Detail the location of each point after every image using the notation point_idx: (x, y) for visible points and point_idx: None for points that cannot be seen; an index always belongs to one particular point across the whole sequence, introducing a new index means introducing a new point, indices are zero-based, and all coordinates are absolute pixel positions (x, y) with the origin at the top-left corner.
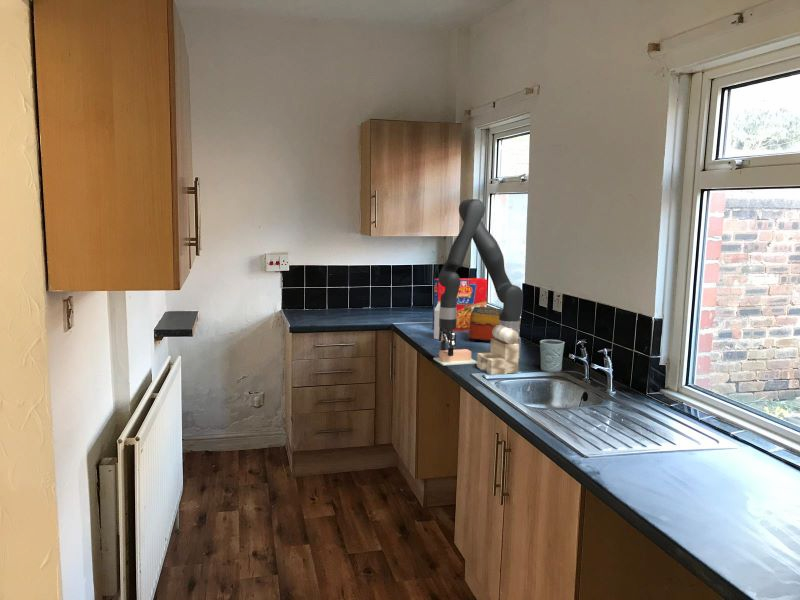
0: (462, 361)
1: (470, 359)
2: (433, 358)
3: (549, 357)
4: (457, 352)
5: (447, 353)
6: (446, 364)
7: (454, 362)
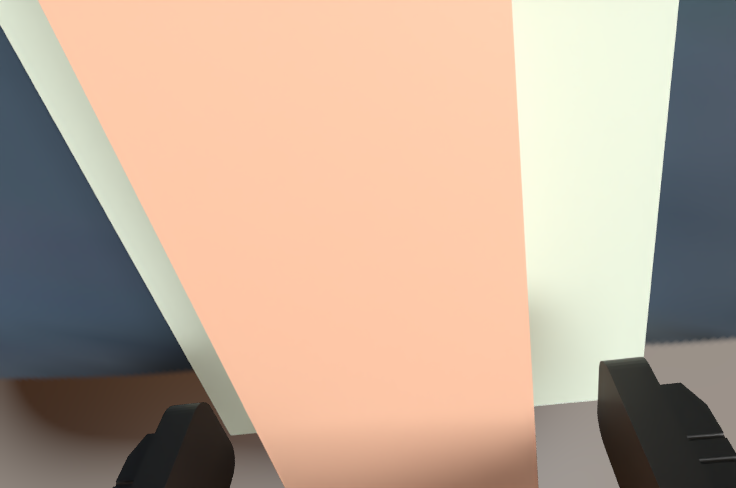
0: (531, 44)
1: None
2: (239, 427)
3: None
4: (526, 271)
5: (532, 453)
6: (637, 348)
7: (581, 226)
